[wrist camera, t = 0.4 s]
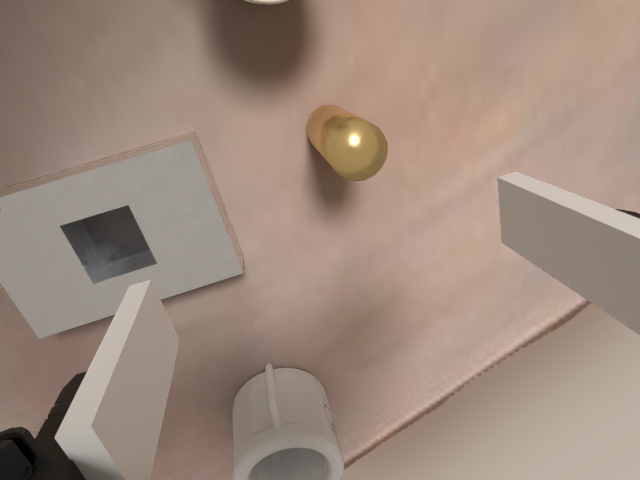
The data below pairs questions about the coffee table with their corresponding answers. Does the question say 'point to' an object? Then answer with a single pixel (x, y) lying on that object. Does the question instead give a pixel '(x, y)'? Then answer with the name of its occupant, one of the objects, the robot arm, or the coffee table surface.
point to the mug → (266, 1)
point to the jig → (114, 234)
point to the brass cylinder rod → (347, 142)
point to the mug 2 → (284, 429)
